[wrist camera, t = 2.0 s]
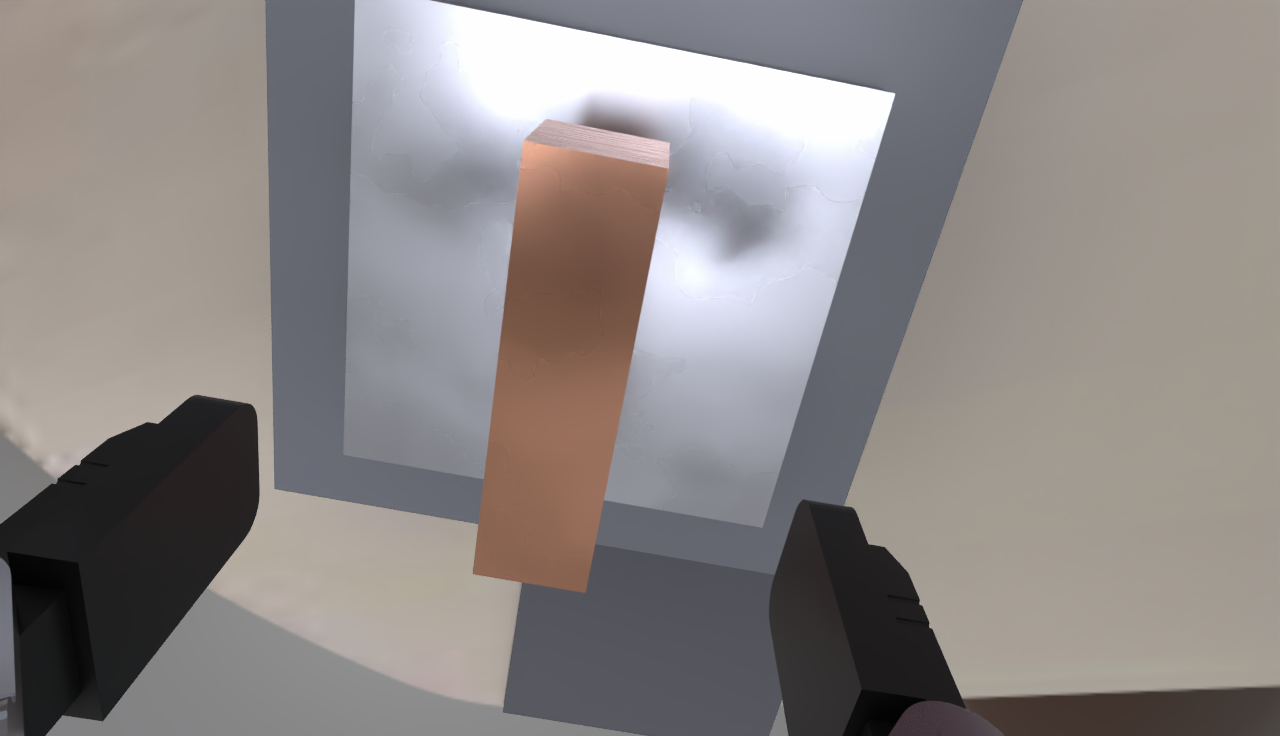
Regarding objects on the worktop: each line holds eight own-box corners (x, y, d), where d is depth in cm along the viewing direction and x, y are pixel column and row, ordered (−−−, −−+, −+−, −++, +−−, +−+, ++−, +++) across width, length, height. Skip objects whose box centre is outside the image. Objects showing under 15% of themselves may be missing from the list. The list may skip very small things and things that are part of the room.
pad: (835, 540, 31) (837, 546, 31) (761, 746, 36) (762, 754, 36) (537, 488, 31) (535, 494, 31) (504, 705, 36) (502, 712, 36)
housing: (942, -5, 23) (1025, -7, 18) (790, 477, 30) (816, 581, 25) (362, -125, 22) (262, -165, 17) (347, 398, 29) (274, 488, 24)
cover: (858, 78, 21) (986, 131, 12) (750, 458, 26) (788, 680, 17) (408, -12, 20) (220, -21, 12) (387, 393, 25) (244, 591, 17)
